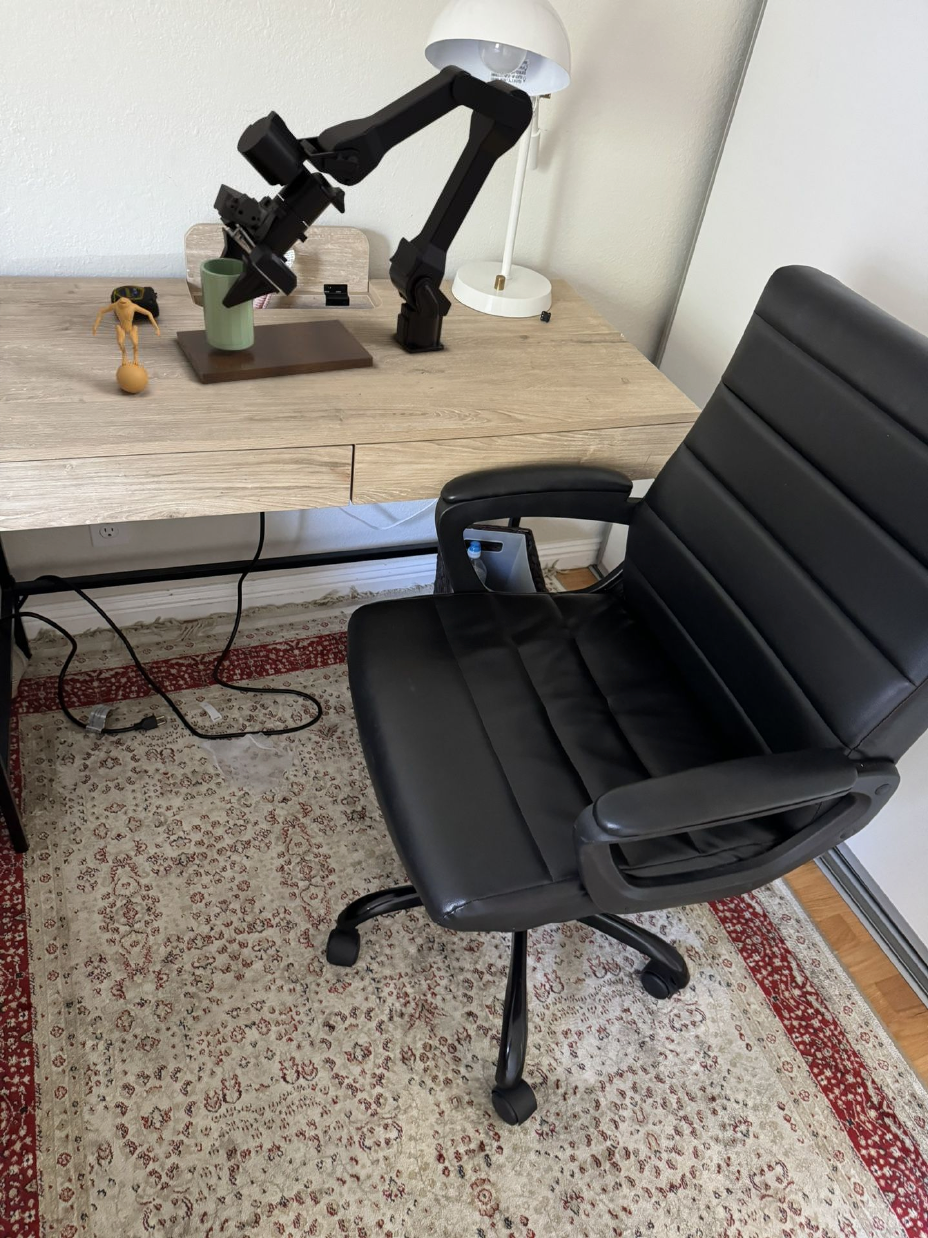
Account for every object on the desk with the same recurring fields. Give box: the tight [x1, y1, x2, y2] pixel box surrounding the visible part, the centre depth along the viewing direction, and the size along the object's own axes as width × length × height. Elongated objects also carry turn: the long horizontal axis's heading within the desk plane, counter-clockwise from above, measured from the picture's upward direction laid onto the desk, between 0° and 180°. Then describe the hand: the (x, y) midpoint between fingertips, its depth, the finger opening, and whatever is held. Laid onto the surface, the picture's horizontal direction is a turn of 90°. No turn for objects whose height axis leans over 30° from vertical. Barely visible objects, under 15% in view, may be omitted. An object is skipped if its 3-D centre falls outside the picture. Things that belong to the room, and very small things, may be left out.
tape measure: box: [110, 284, 160, 321], centre depth 125 cm, size 7×7×4 cm
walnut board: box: [176, 319, 374, 385], centre depth 122 cm, size 26×14×2 cm, turn 118°
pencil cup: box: [199, 257, 255, 350], centre depth 115 cm, size 7×7×10 cm
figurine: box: [92, 297, 162, 394], centre depth 106 cm, size 8×6×12 cm
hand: (217, 295), depth 113 cm, fingers closed on pencil cup, 7 cm apart
